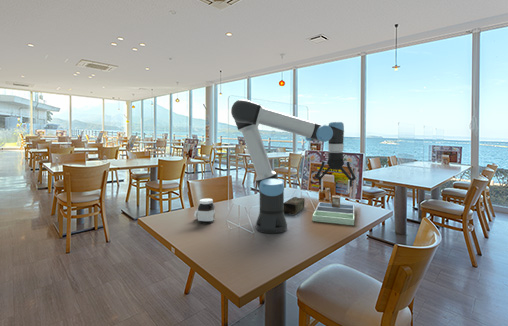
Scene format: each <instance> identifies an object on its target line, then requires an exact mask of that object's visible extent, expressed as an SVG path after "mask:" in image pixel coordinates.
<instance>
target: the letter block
mask: <svg viewBox="0 0 508 326" xmlns="http://www.w3.org/2000/svg"><path fill="white" fill-rule="evenodd" d="M331 203H332V207H338V208H340V204H341V196H340V195H331Z"/></svg>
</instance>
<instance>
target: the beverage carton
mask: <svg viewBox="0 0 508 326" xmlns="http://www.w3.org/2000/svg"><path fill="white" fill-rule="evenodd" d="M304 208H305V198H303V197H297V196H293V197H292V198H290V199H287V200H286V201H284V214H288V215H291V216H293V215H294V216H295V215H296V214H298V213H299V212H300V211H302V210H303V209H304Z"/></svg>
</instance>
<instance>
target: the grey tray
mask: <svg viewBox="0 0 508 326" xmlns="http://www.w3.org/2000/svg"><path fill="white" fill-rule="evenodd" d="M317 206H319V207H331V208H338V207H332V202H331V203H330V202H321V201H319V202H318V204H317ZM340 208H342V209H354V210H355V205H354V204H344V203H340Z"/></svg>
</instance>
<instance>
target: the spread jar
mask: <svg viewBox="0 0 508 326" xmlns="http://www.w3.org/2000/svg"><path fill="white" fill-rule="evenodd" d="M213 202H214V200H213V198H209V197H208V198H201V199H199V204H198V206H197V208H196V210H195V211H194V214H193V215H194V218H196V219H197V221H198V222H199V223H200V224H203V223H208V224H212V223H213V222H214V221H215V219H216V218H215V217H216V210H215V209H216V208H215V207H216V206H215V204H214V203H213ZM211 222H212V223H211Z"/></svg>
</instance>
